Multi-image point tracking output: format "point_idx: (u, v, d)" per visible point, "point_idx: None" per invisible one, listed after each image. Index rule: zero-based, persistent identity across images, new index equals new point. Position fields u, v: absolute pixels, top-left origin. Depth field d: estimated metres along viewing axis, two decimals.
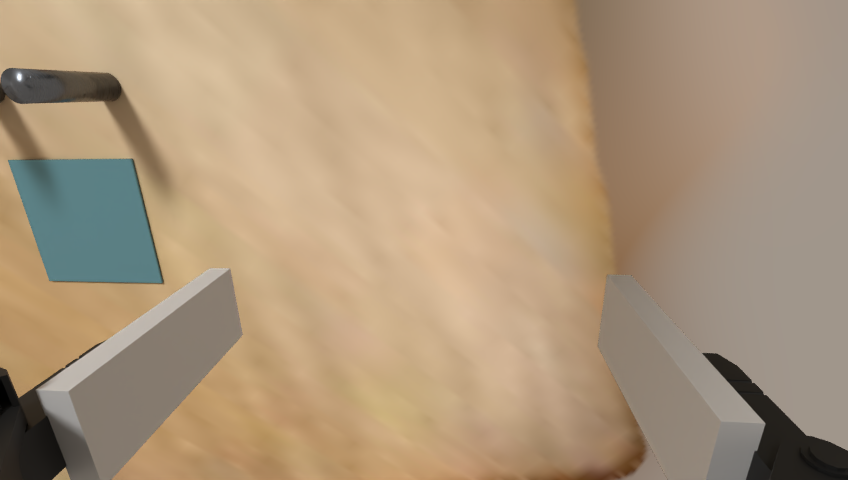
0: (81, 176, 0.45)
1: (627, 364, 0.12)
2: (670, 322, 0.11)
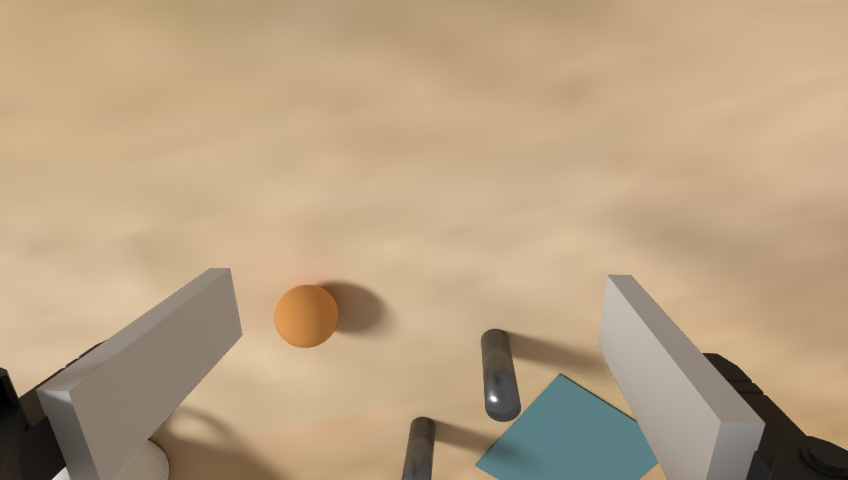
0: (535, 425, 0.42)
1: (627, 364, 0.12)
2: (670, 322, 0.11)
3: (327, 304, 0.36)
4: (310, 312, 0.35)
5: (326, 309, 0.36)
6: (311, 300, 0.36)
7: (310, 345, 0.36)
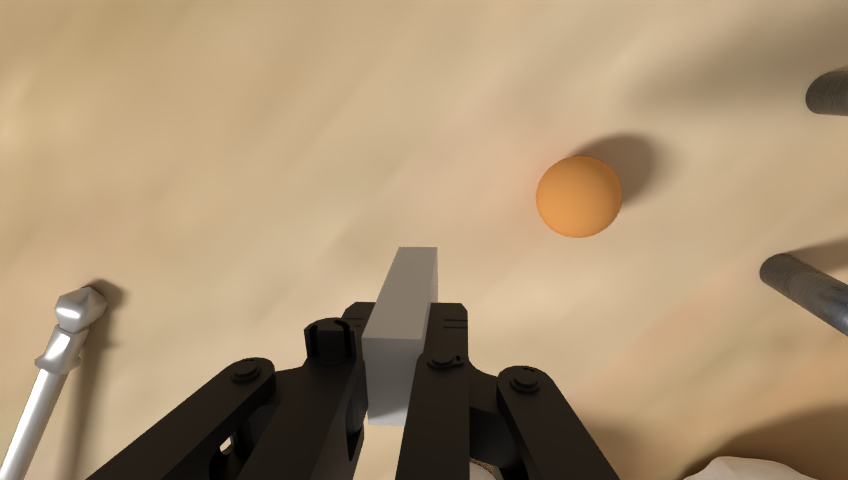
0: None
1: None
2: (428, 279, 0.14)
3: (599, 162, 0.27)
4: (591, 175, 0.26)
5: (603, 166, 0.27)
6: (581, 164, 0.27)
7: (610, 220, 0.27)
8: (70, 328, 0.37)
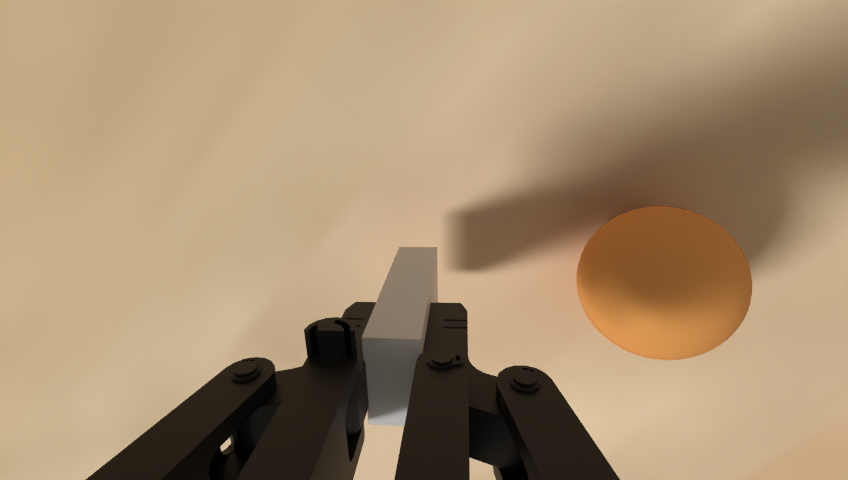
0: None
1: None
2: (428, 279, 0.14)
3: (708, 222, 0.14)
4: (699, 253, 0.13)
5: (717, 230, 0.14)
6: (673, 229, 0.13)
7: (730, 335, 0.14)
8: None
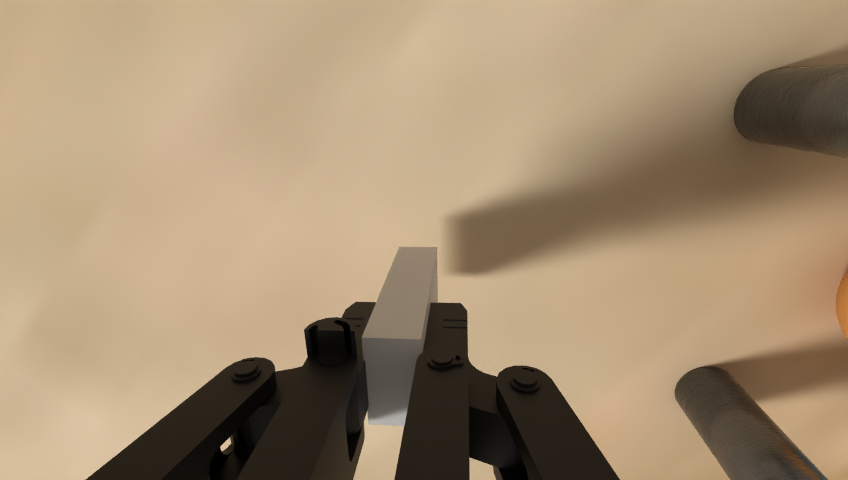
0: None
1: None
2: (428, 279, 0.14)
3: None
4: None
5: None
6: None
7: None
8: None
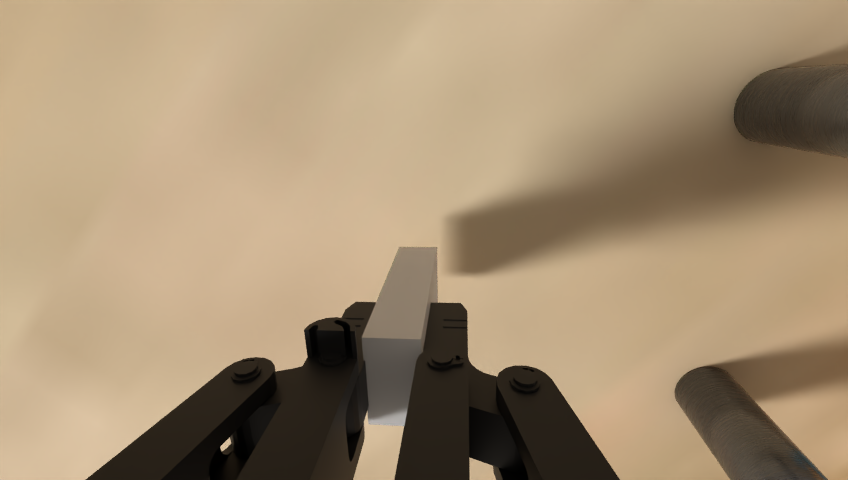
0: None
1: None
2: (428, 279, 0.14)
3: None
4: None
5: None
6: None
7: None
8: None
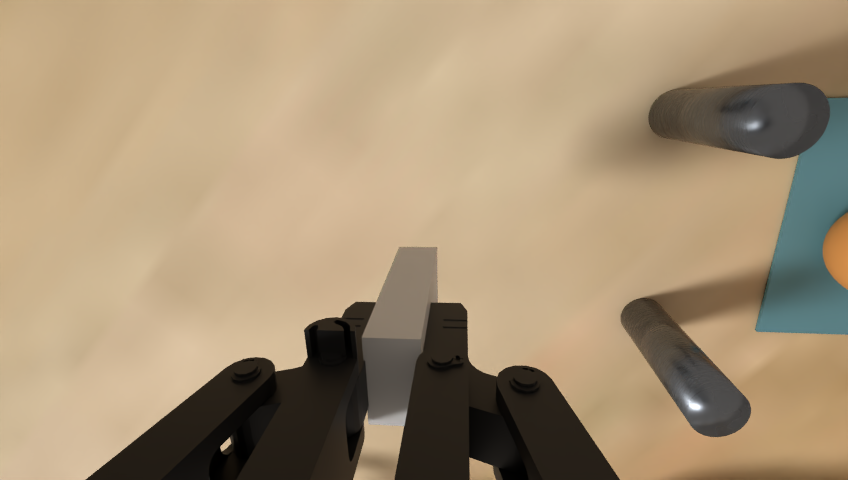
0: (821, 210, 0.24)
1: None
2: (428, 279, 0.14)
3: None
4: None
5: None
6: None
7: None
8: None
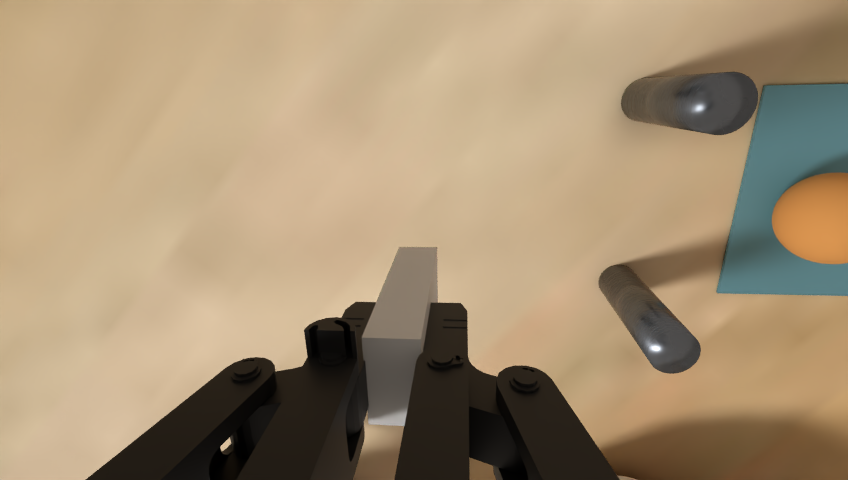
0: (771, 184, 0.28)
1: None
2: (428, 279, 0.14)
3: (817, 175, 0.25)
4: None
5: (809, 177, 0.26)
6: None
7: (773, 225, 0.28)
8: None
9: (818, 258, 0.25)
